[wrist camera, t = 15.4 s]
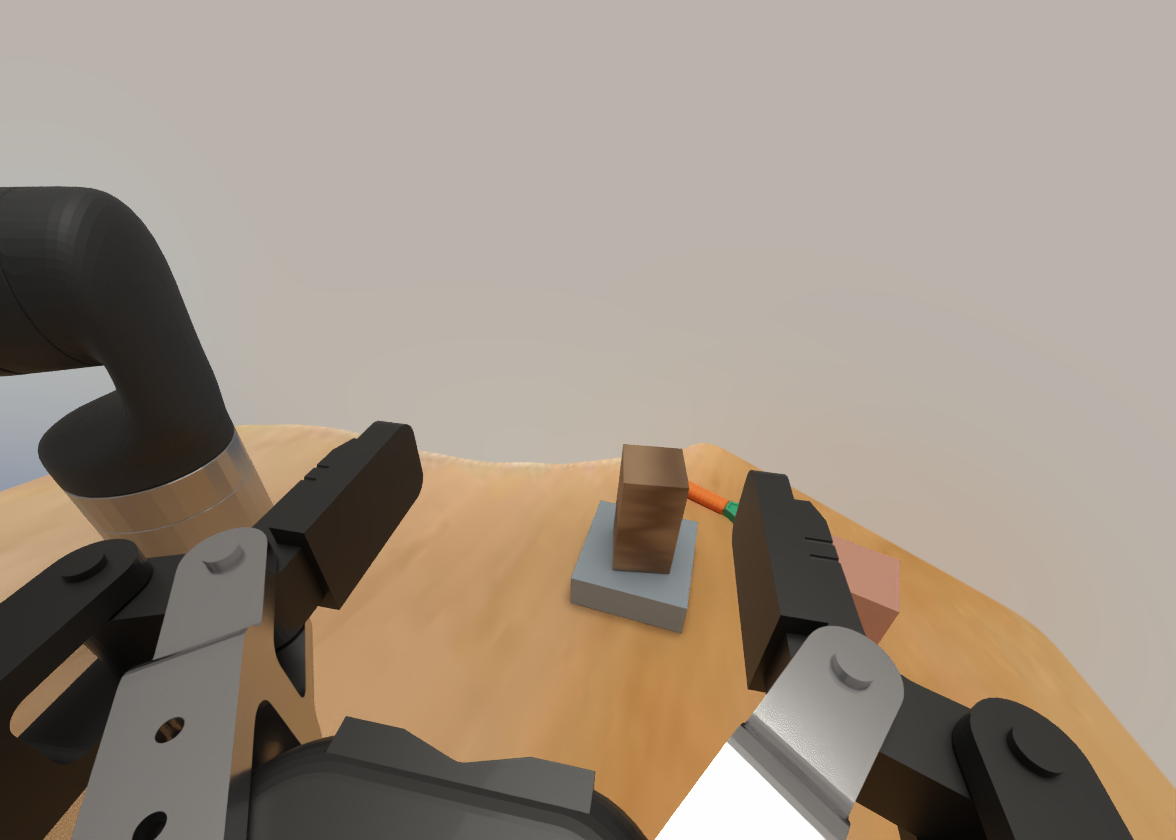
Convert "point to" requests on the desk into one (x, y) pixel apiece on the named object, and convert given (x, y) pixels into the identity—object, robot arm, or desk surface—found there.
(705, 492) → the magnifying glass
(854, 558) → the brick-red block
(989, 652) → the desk surface
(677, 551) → the slate base block
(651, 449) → the walnut block
